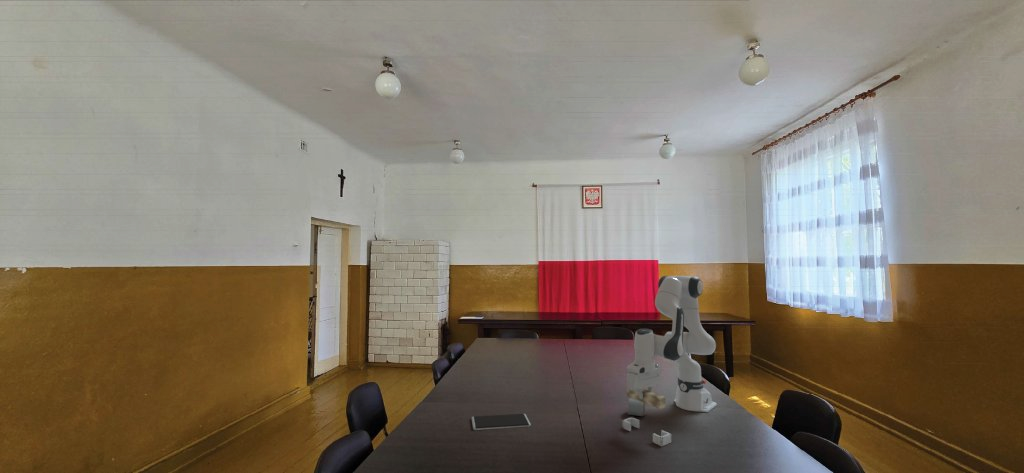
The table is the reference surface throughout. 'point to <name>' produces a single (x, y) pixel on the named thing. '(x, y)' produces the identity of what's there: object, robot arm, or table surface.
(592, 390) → the table surface
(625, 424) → the cap
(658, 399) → the tan wooden beam
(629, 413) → the ceramic mug
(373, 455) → the table surface
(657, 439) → the cap
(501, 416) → the smartphone
